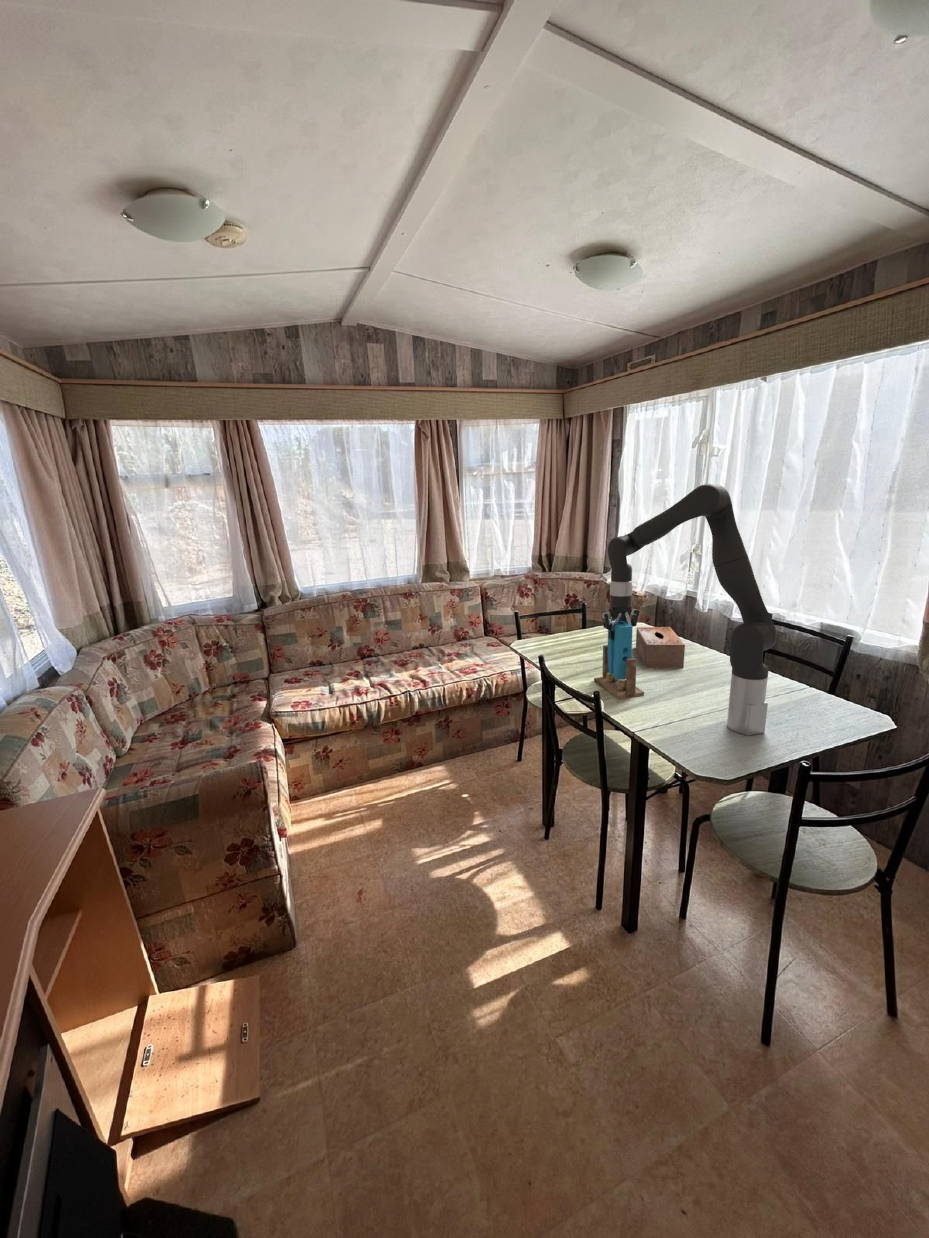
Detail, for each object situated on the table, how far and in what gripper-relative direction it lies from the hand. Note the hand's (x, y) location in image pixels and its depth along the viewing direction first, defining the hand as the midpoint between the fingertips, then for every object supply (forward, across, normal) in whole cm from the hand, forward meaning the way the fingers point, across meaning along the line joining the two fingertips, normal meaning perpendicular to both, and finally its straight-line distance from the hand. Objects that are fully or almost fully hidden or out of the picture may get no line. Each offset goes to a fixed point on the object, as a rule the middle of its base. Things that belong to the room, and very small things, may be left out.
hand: (619, 638), depth 178 cm
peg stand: (+19, 0, 0) cm, 19 cm away
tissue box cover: (+20, +33, +24) cm, 45 cm away
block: (+14, 0, 0) cm, 14 cm away
